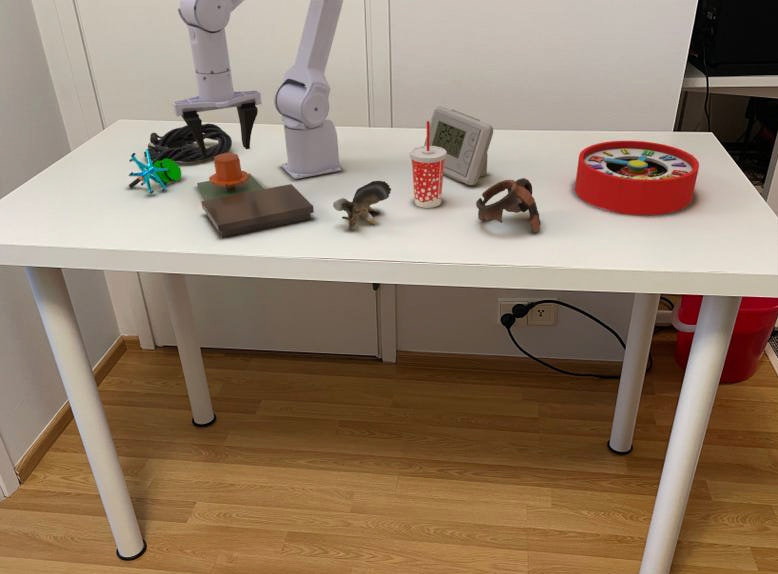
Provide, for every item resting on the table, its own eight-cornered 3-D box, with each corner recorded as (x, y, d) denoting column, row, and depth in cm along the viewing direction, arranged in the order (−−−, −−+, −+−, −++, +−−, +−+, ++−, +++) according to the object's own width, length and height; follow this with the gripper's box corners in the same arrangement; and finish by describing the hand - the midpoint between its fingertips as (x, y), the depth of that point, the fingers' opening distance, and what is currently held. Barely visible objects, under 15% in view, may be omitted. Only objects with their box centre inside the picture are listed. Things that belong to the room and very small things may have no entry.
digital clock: (417, 162, 145) (417, 107, 139) (458, 155, 148) (460, 101, 142) (454, 191, 133) (456, 132, 126) (498, 183, 135) (502, 125, 129)
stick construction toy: (147, 189, 130) (127, 148, 129) (123, 207, 133) (103, 167, 133) (193, 185, 140) (175, 147, 140) (170, 202, 144) (152, 165, 143)
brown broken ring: (536, 244, 116) (512, 202, 111) (485, 256, 122) (461, 216, 118) (557, 198, 122) (535, 157, 118) (508, 212, 129) (486, 173, 124)
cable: (237, 141, 157) (234, 121, 155) (226, 165, 146) (223, 143, 143) (156, 143, 157) (152, 123, 154) (138, 167, 145) (134, 145, 143)
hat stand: (250, 178, 140) (246, 146, 136) (266, 196, 132) (262, 163, 129) (197, 188, 136) (191, 156, 133) (211, 207, 129) (205, 173, 125)
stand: (292, 197, 132) (291, 183, 130) (314, 219, 124) (313, 205, 122) (203, 214, 126) (200, 200, 125) (220, 239, 118) (217, 225, 116)
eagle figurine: (380, 229, 117) (401, 199, 123) (353, 193, 114) (376, 164, 120) (348, 245, 122) (369, 214, 128) (321, 210, 119) (344, 181, 125)
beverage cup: (427, 192, 132) (427, 113, 124) (452, 202, 129) (454, 121, 121) (402, 202, 129) (401, 121, 121) (428, 212, 125) (428, 129, 117)
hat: (242, 169, 136) (239, 148, 134) (253, 181, 131) (250, 159, 129) (206, 176, 134) (202, 154, 132) (215, 188, 129) (212, 166, 127)
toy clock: (684, 189, 116) (562, 168, 125) (677, 224, 120) (558, 201, 128) (710, 150, 131) (599, 134, 139) (703, 182, 134) (595, 164, 142)
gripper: (173, 81, 116) (188, 165, 124) (262, 69, 122) (272, 151, 129) (164, 71, 122) (179, 152, 129) (250, 60, 127) (259, 139, 135)
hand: (225, 151), depth 130 cm, fingers open, 7 cm apart
